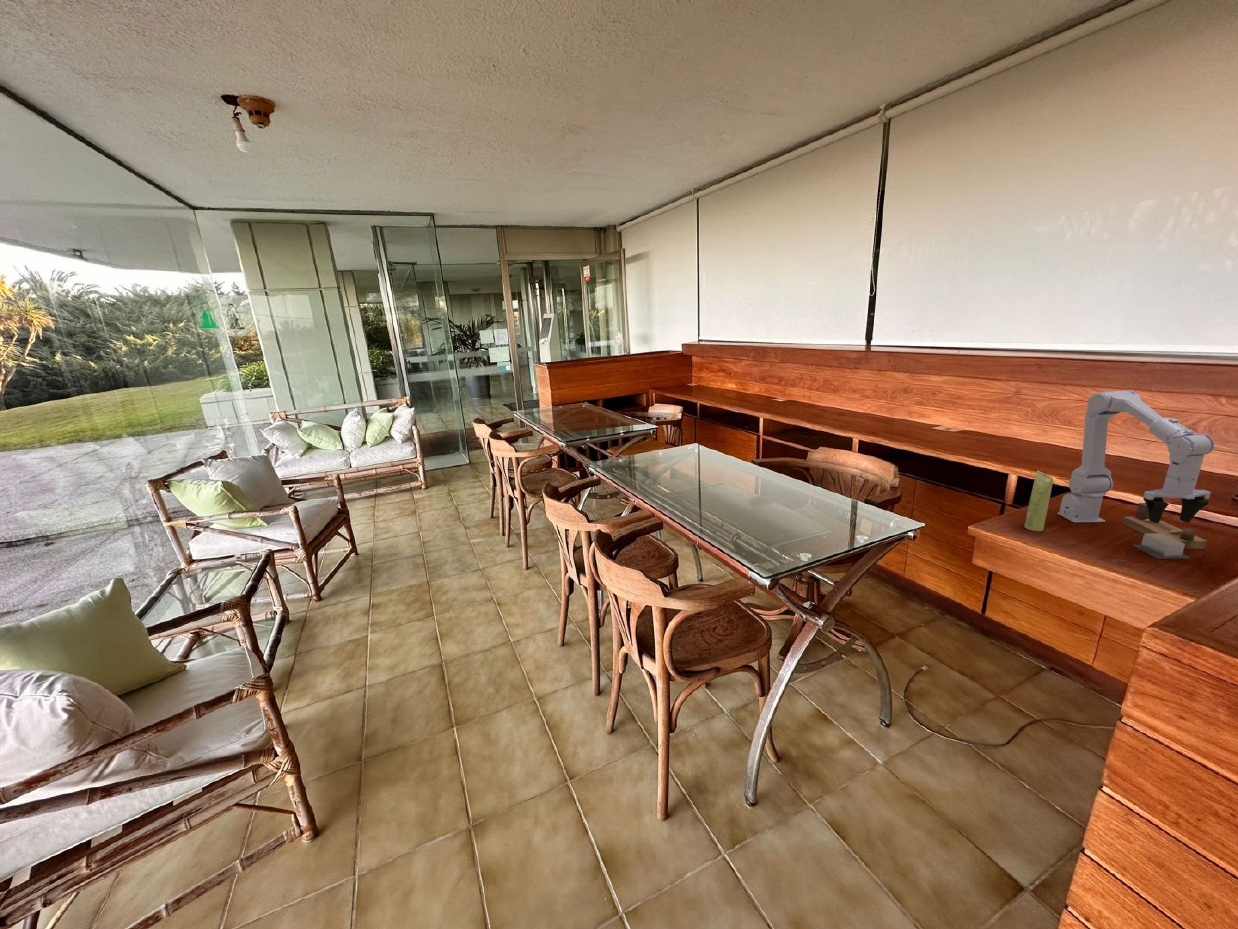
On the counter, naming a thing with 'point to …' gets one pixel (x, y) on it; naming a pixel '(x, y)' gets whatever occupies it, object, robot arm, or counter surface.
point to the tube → (1039, 502)
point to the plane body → (1163, 529)
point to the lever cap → (1163, 545)
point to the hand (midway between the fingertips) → (1169, 521)
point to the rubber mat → (1158, 554)
